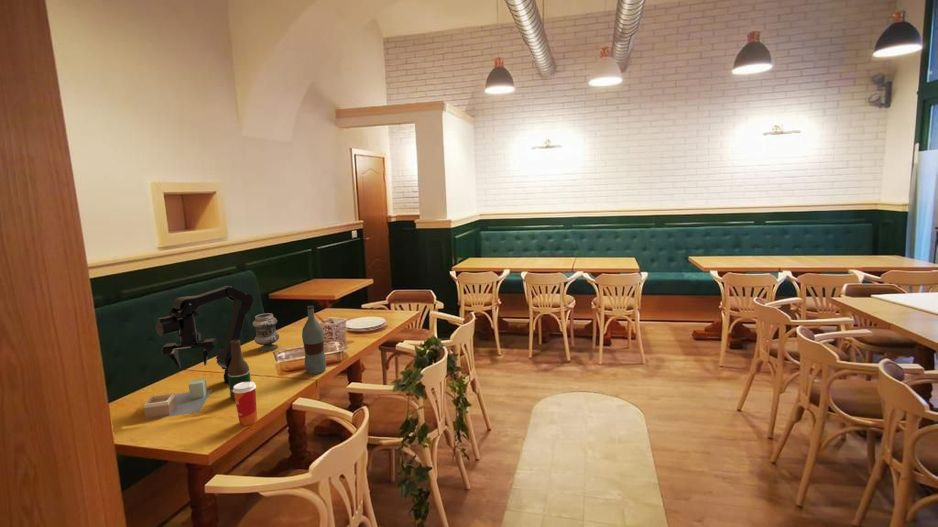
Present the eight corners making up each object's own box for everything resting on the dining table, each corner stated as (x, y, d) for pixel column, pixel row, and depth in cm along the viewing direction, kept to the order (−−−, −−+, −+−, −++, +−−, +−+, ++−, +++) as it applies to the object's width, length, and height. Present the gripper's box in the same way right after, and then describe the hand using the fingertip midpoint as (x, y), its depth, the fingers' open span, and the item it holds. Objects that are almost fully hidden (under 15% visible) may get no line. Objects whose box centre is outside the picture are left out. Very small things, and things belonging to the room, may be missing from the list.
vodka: (330, 367, 229) (325, 304, 224) (320, 375, 220) (314, 309, 215) (312, 366, 231) (306, 303, 226) (301, 374, 222) (294, 308, 218)
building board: (213, 391, 207) (211, 377, 206) (199, 414, 186) (197, 398, 185) (164, 397, 203) (162, 383, 202) (144, 422, 182) (142, 406, 181)
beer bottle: (256, 395, 201) (250, 338, 197) (242, 403, 194) (235, 344, 190) (241, 393, 204) (234, 337, 200) (226, 401, 196) (219, 343, 193)
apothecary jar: (263, 344, 267) (259, 312, 264) (284, 344, 265) (281, 312, 263) (250, 352, 255) (246, 318, 252) (272, 352, 254) (269, 318, 251)
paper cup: (241, 418, 182) (236, 381, 180) (262, 416, 182) (258, 380, 180) (233, 428, 174) (228, 390, 172) (255, 426, 175) (251, 388, 172)
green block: (207, 392, 204) (205, 378, 203) (204, 397, 199) (202, 382, 198) (193, 393, 203) (192, 379, 202) (190, 398, 198) (188, 384, 197)
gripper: (217, 321, 207) (222, 357, 210) (167, 326, 202) (172, 363, 205) (211, 328, 196) (216, 366, 199) (158, 334, 192) (164, 372, 194)
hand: (192, 366), depth 200 cm, fingers open, 9 cm apart
